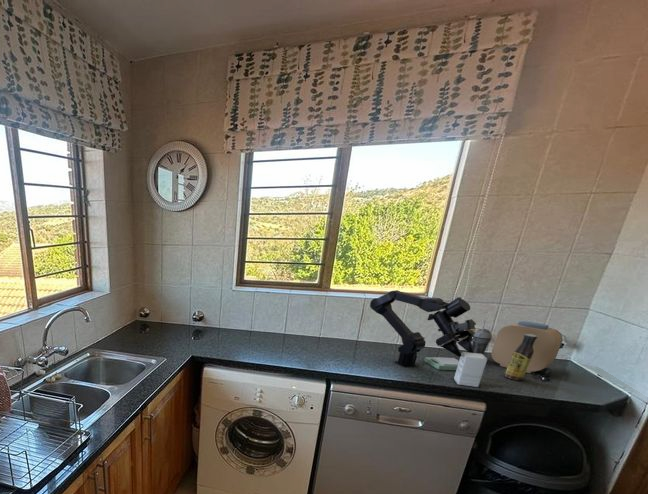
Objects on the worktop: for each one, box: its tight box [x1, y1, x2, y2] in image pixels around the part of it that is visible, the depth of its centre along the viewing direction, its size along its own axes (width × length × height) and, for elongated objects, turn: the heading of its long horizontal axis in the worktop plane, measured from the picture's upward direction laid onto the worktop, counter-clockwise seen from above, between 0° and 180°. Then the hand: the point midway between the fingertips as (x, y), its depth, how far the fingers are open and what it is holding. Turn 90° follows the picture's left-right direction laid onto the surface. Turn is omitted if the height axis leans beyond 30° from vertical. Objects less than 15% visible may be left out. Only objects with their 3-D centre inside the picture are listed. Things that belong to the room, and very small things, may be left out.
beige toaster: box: [490, 320, 563, 374], centre depth 185 cm, size 21×10×22 cm, turn 32°
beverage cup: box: [471, 319, 493, 355], centre depth 196 cm, size 7×7×20 cm
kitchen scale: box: [424, 356, 459, 371], centre depth 191 cm, size 13×12×2 cm
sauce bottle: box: [504, 334, 537, 381], centre depth 173 cm, size 7×6×20 cm
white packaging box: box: [453, 351, 488, 388], centre depth 169 cm, size 7×7×13 cm
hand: (466, 354), depth 169 cm, fingers open, 9 cm apart
